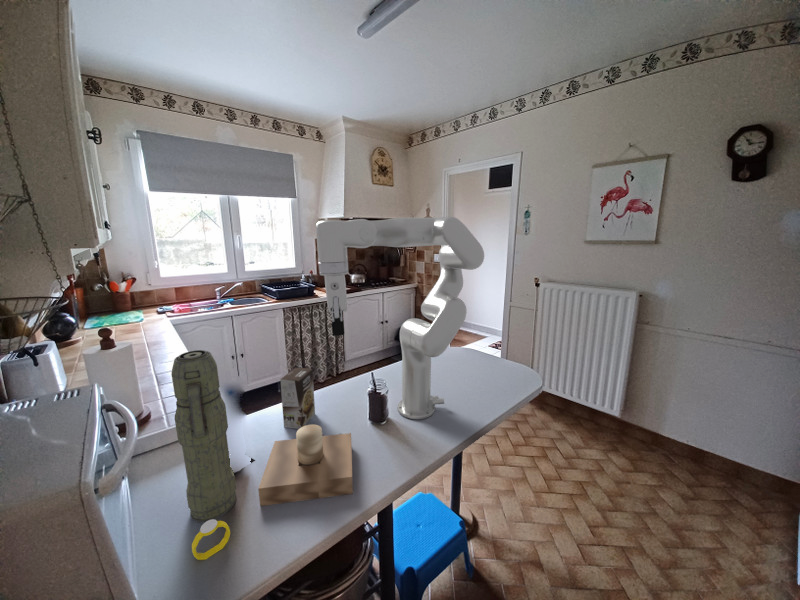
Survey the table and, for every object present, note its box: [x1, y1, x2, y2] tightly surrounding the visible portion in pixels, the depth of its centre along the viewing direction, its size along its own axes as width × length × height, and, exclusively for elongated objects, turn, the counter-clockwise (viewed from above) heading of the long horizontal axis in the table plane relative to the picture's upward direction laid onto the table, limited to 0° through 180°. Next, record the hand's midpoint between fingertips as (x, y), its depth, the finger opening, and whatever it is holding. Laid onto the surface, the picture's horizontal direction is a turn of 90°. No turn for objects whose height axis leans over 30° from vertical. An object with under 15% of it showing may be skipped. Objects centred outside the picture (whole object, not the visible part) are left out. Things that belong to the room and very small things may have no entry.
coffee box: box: [280, 367, 316, 430], centre depth 97 cm, size 9×6×16 cm
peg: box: [295, 424, 324, 466], centre depth 76 cm, size 6×6×11 cm
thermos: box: [171, 349, 237, 523], centre depth 64 cm, size 9×12×35 cm
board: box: [257, 432, 354, 507], centre depth 76 cm, size 20×16×4 cm
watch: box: [191, 519, 231, 561], centre depth 57 cm, size 6×3×6 cm, turn 136°
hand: (338, 334), depth 86 cm, fingers closed
